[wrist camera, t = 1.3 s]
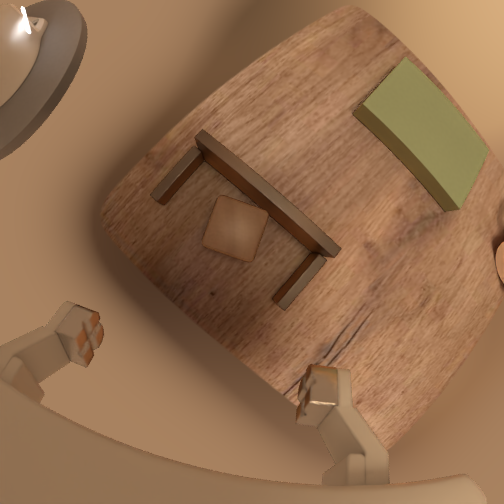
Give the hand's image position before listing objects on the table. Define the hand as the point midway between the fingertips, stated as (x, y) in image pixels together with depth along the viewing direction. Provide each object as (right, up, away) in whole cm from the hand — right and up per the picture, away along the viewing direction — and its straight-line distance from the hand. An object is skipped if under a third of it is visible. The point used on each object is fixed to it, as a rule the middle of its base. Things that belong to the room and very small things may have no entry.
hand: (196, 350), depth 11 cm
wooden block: (0, +5, +19) cm, 20 cm away
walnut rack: (0, +5, +19) cm, 20 cm away
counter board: (+23, +18, +20) cm, 35 cm away
